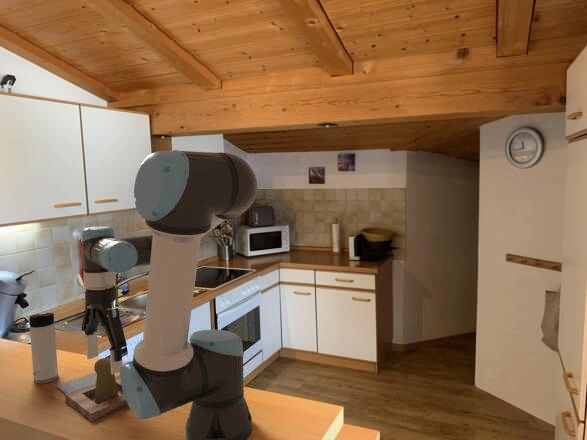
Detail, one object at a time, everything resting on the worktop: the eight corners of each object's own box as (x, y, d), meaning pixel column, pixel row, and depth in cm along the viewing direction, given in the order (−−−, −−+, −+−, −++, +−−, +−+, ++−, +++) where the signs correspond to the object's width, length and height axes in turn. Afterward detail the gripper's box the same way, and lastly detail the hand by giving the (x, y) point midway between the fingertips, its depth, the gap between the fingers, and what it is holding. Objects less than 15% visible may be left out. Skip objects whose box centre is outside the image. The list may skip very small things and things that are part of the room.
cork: (122, 393, 119) (120, 354, 118) (114, 405, 113) (111, 364, 112) (100, 394, 119) (97, 355, 118) (90, 405, 113) (88, 364, 112)
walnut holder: (147, 397, 117) (147, 390, 117) (91, 421, 106) (90, 413, 105) (120, 381, 127) (119, 374, 126) (65, 401, 115) (65, 394, 115)
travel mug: (32, 386, 124) (27, 317, 122) (35, 376, 130) (30, 311, 128) (57, 381, 127) (52, 314, 125) (58, 372, 133) (54, 308, 131)
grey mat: (116, 380, 127) (116, 378, 127) (70, 397, 117) (69, 395, 117) (102, 371, 133) (102, 370, 133) (56, 387, 123) (56, 385, 123)
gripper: (138, 291, 108) (142, 373, 110) (93, 276, 124) (96, 347, 126) (109, 298, 102) (113, 384, 104) (65, 281, 118) (70, 356, 121)
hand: (104, 364), depth 115 cm, fingers open, 13 cm apart
